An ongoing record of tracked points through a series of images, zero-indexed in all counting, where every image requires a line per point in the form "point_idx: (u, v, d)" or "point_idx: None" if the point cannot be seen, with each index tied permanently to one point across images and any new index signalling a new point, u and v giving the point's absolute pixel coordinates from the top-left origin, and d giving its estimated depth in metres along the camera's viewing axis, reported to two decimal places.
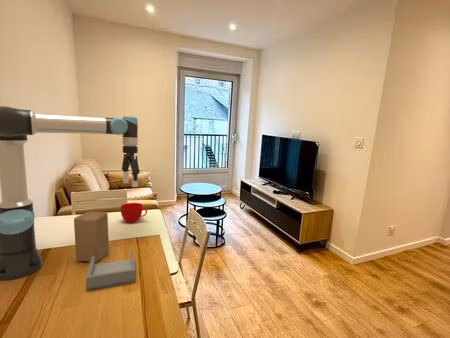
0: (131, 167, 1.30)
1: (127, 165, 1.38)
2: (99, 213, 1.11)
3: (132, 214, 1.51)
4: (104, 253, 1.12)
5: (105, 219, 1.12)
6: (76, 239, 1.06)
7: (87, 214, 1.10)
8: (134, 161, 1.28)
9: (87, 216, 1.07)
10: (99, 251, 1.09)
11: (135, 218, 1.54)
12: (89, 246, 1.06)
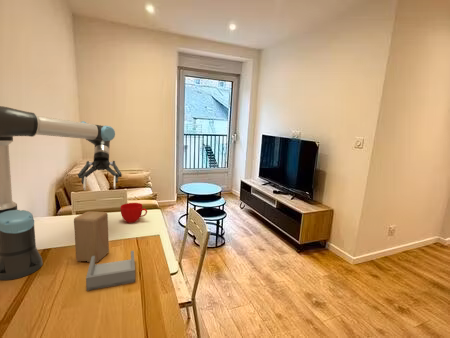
0: (111, 170, 1.32)
1: (91, 172, 1.29)
2: (98, 213, 1.11)
3: (132, 214, 1.51)
4: (104, 253, 1.12)
5: (105, 219, 1.12)
6: (76, 239, 1.06)
7: (87, 214, 1.10)
8: None
9: (87, 216, 1.07)
10: (99, 251, 1.09)
11: (135, 218, 1.54)
12: (89, 246, 1.06)
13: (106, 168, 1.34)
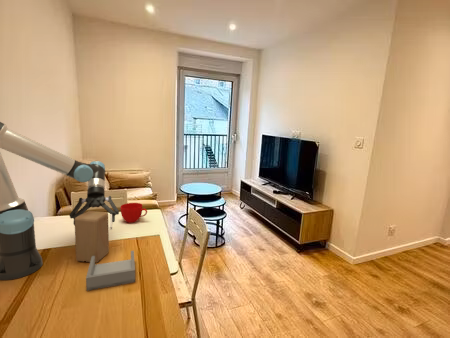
0: (107, 207, 1.18)
1: (84, 210, 1.15)
2: (99, 213, 1.10)
3: (132, 214, 1.51)
4: (104, 253, 1.12)
5: (106, 219, 1.12)
6: (76, 239, 1.06)
7: (88, 214, 1.09)
8: None
9: (88, 216, 1.07)
10: (100, 251, 1.09)
11: (135, 218, 1.54)
12: (89, 246, 1.06)
13: None
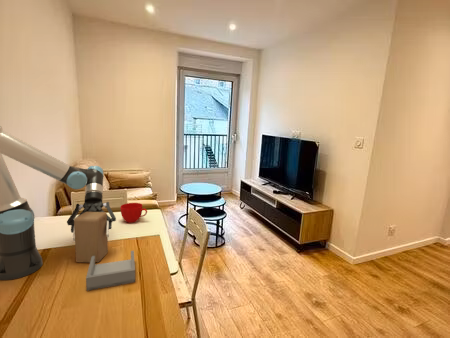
0: None
1: None
2: (98, 213, 1.11)
3: (132, 214, 1.51)
4: (104, 253, 1.13)
5: (105, 218, 1.12)
6: (76, 240, 1.05)
7: (87, 214, 1.09)
8: (110, 208, 1.18)
9: (88, 216, 1.07)
10: (100, 251, 1.09)
11: (135, 218, 1.54)
12: (90, 246, 1.06)
13: None
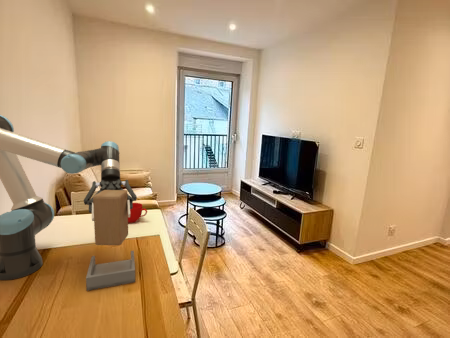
0: None
1: None
2: (119, 191, 0.99)
3: (132, 214, 1.51)
4: (125, 235, 1.02)
5: (126, 197, 1.01)
6: (96, 220, 0.94)
7: (106, 192, 0.98)
8: None
9: (108, 194, 0.96)
10: (122, 232, 0.98)
11: (135, 218, 1.54)
12: (112, 227, 0.95)
13: (117, 189, 1.06)
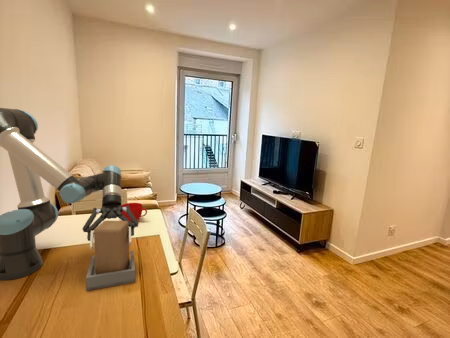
0: (125, 219, 1.02)
1: (99, 222, 1.00)
2: (120, 223, 0.98)
3: None
4: (126, 267, 1.00)
5: (127, 228, 1.00)
6: (96, 253, 0.93)
7: (107, 224, 0.97)
8: None
9: (109, 226, 0.95)
10: (123, 265, 0.97)
11: None
12: (112, 260, 0.94)
13: (118, 215, 1.05)
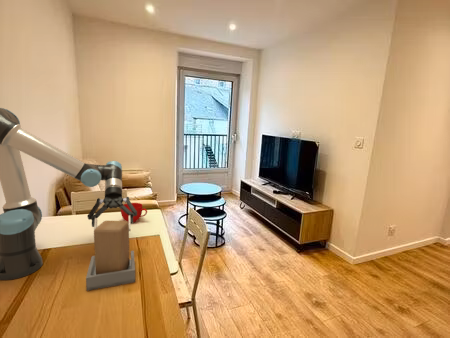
0: (125, 208, 1.14)
1: (102, 211, 1.12)
2: (120, 223, 0.98)
3: None
4: (126, 267, 1.00)
5: (127, 228, 1.00)
6: (96, 253, 0.93)
7: (107, 224, 0.97)
8: None
9: (109, 226, 0.95)
10: (123, 265, 0.97)
11: (135, 218, 1.54)
12: (112, 260, 0.94)
13: None
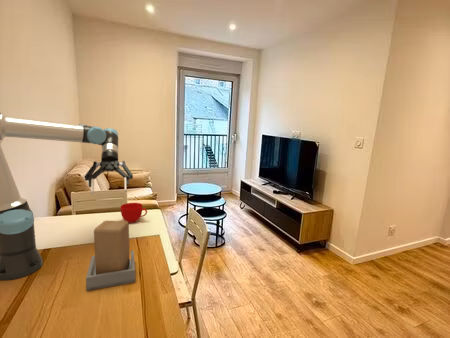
0: (121, 171, 1.18)
1: (99, 173, 1.15)
2: (120, 223, 0.98)
3: (132, 214, 1.51)
4: (126, 267, 1.00)
5: (127, 228, 1.00)
6: (96, 253, 0.93)
7: (107, 224, 0.97)
8: None
9: (109, 226, 0.95)
10: (123, 265, 0.97)
11: (135, 218, 1.54)
12: (112, 260, 0.94)
13: None
